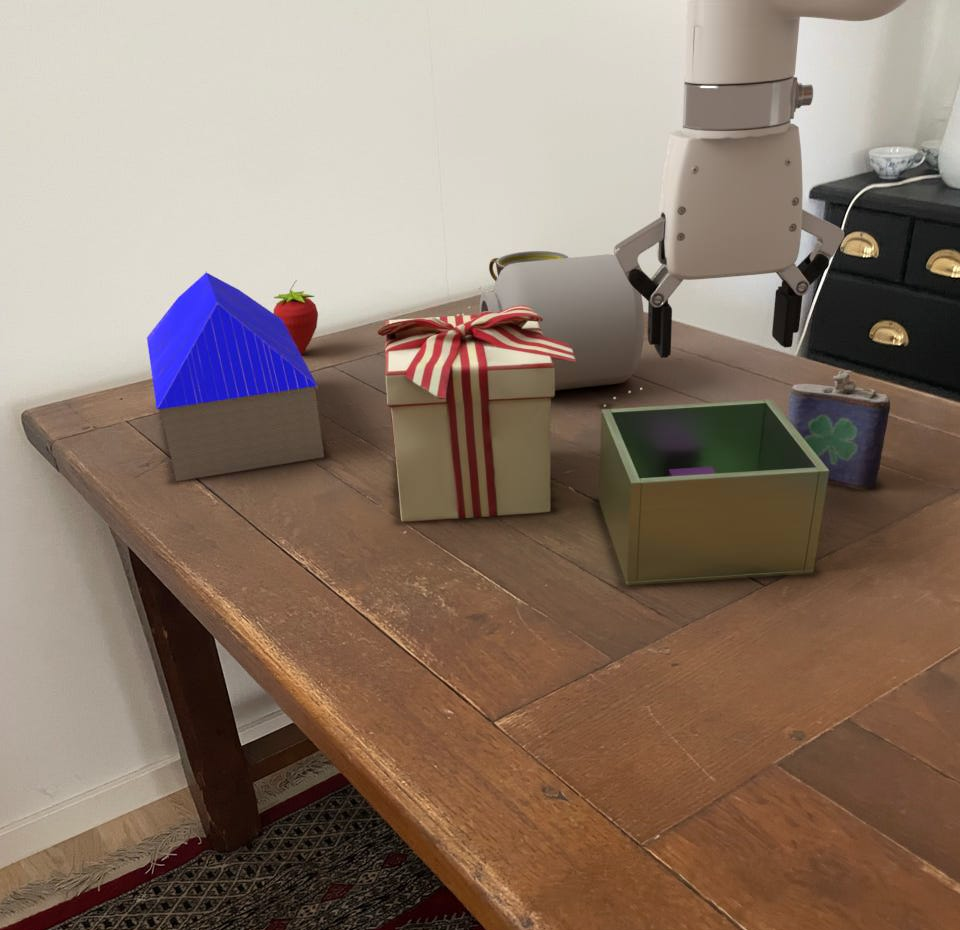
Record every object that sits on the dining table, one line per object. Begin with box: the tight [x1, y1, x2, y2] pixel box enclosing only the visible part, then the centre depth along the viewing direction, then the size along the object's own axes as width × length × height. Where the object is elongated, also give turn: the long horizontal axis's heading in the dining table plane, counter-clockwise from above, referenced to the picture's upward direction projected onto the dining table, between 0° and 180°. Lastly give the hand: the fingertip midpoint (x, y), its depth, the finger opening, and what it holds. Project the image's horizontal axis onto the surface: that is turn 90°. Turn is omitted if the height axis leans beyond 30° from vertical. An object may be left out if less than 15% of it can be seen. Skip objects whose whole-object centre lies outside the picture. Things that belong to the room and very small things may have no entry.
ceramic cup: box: [488, 250, 571, 282], centre depth 140 cm, size 13×10×10 cm
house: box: [146, 271, 325, 482], centre depth 113 cm, size 25×16×16 cm, turn 17°
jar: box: [456, 254, 645, 408], centre depth 120 cm, size 19×15×25 cm
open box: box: [598, 398, 829, 586], centre depth 89 cm, size 16×16×10 cm
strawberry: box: [273, 279, 319, 356], centre depth 136 cm, size 6×8×10 cm
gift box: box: [376, 305, 576, 523], centre depth 96 cm, size 17×18×17 cm
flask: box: [786, 370, 891, 491], centre depth 97 cm, size 9×3×11 cm, turn 58°
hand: (721, 347), depth 82 cm, fingers open, 9 cm apart
